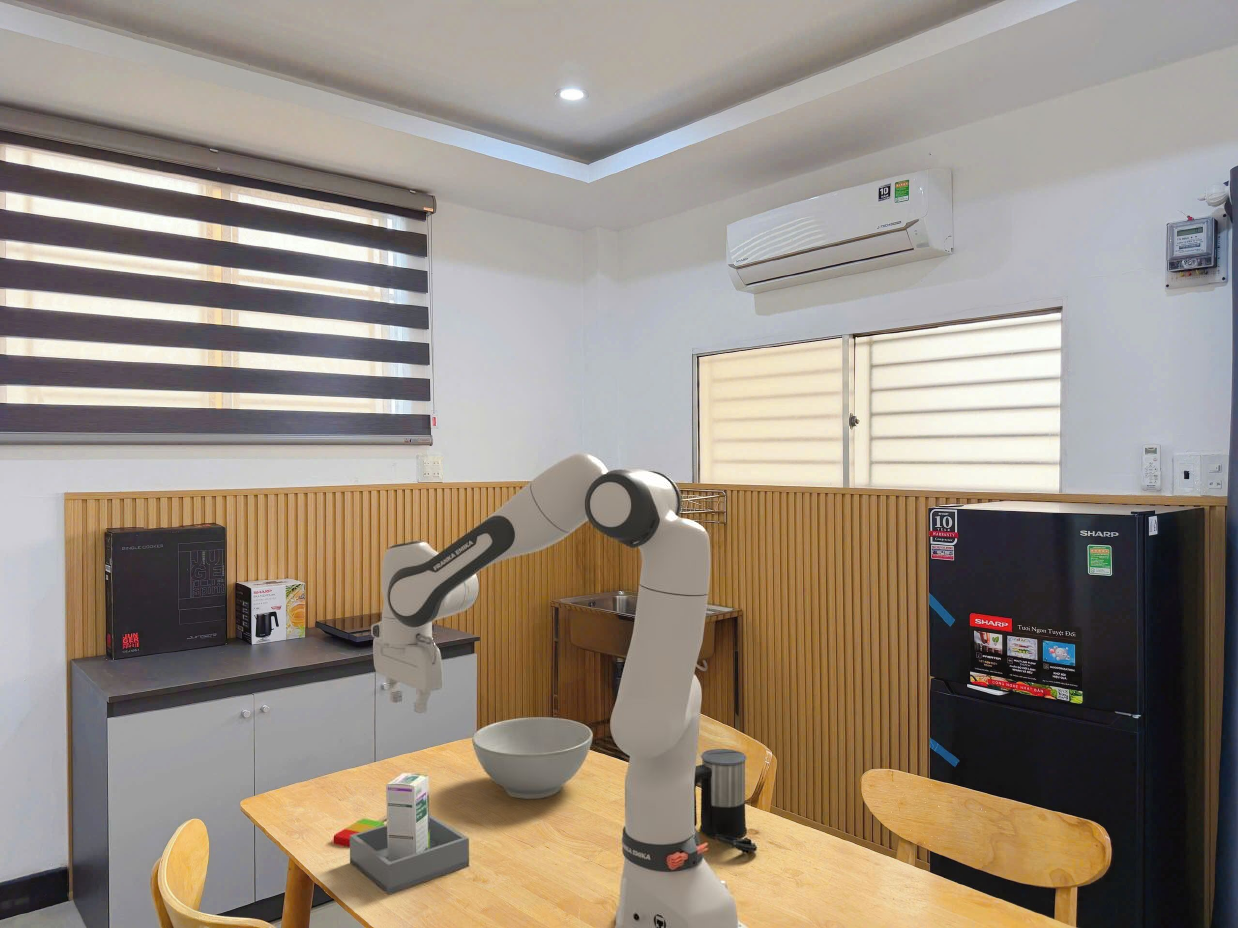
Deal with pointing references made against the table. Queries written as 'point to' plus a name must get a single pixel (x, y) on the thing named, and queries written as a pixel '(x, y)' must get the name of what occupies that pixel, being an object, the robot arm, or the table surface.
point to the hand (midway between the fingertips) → (407, 706)
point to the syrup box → (407, 815)
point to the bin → (409, 857)
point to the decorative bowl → (532, 754)
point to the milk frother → (723, 797)
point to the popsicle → (356, 830)
